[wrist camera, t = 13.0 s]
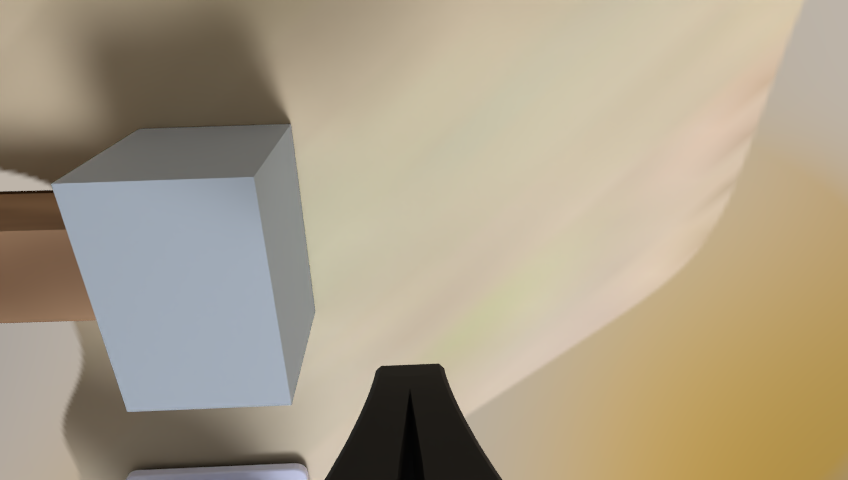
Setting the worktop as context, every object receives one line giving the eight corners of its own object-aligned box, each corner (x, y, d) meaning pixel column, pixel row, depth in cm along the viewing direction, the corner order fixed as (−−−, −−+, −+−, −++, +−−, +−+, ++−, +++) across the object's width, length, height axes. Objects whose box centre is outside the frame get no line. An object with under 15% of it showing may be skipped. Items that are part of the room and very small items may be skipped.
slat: (269, 264, 21) (246, 315, 18) (-163, 277, 21) (-263, 331, 18) (257, 184, 20) (230, 225, 17) (-206, 196, 20) (-322, 240, 16)
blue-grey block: (314, 311, 22) (291, 405, 17) (186, 316, 22) (127, 411, 17) (290, 123, 19) (253, 177, 14) (138, 128, 19) (50, 183, 14)
